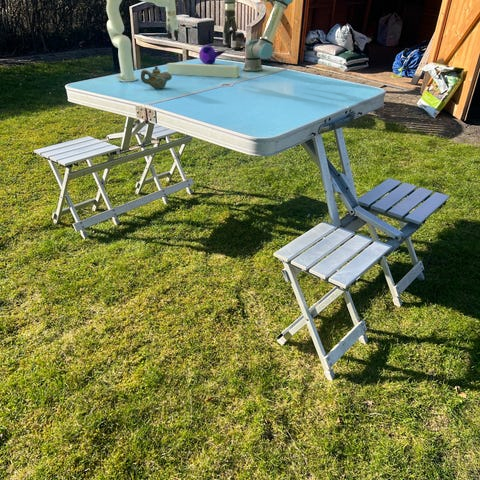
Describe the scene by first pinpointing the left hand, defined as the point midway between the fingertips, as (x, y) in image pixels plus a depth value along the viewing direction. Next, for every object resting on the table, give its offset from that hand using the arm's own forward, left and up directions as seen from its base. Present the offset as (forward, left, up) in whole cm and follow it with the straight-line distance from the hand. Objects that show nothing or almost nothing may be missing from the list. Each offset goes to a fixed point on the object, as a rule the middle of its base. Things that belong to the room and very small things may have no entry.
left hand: (173, 38), depth 350 cm
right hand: (+33, -36, -2) cm, 49 cm away
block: (+16, -18, -26) cm, 36 cm away
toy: (+40, +22, -26) cm, 53 cm away
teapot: (-31, -48, -26) cm, 63 cm away
